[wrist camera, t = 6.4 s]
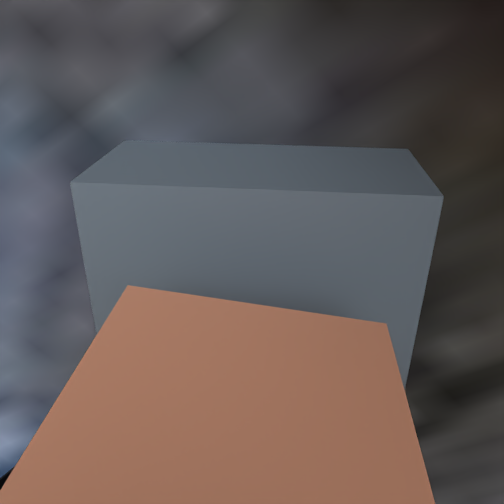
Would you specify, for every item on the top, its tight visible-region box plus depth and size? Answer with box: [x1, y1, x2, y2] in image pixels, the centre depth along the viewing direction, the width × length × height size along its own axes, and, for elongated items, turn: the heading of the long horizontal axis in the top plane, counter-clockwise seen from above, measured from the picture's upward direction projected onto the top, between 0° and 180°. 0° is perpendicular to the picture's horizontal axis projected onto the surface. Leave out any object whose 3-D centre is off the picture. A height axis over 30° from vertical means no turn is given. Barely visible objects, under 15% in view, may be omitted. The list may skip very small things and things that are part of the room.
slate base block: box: [70, 140, 444, 390], centre depth 14 cm, size 8×8×4 cm
